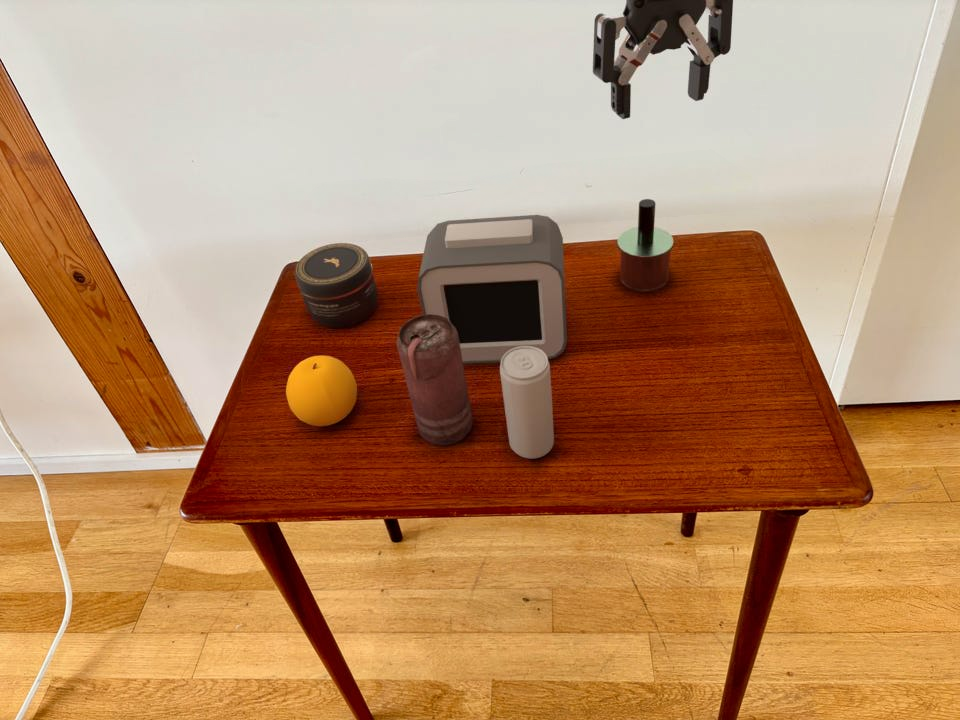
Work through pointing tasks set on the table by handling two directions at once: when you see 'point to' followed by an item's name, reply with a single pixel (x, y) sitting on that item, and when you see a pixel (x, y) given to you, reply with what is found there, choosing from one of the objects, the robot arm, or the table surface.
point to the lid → (645, 236)
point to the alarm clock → (497, 284)
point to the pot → (644, 273)
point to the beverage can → (527, 401)
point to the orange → (321, 390)
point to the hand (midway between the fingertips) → (659, 107)
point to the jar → (337, 284)
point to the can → (435, 378)
